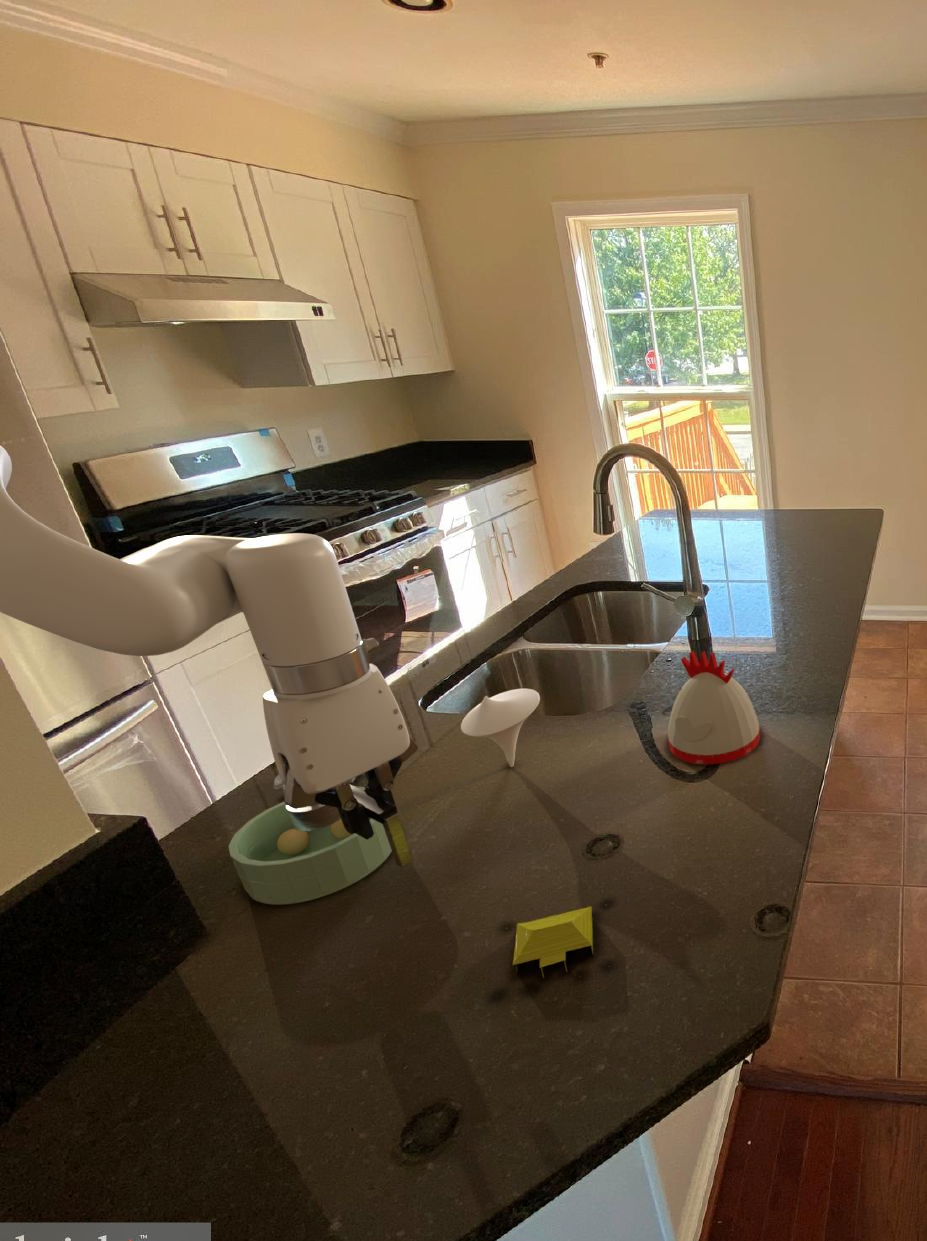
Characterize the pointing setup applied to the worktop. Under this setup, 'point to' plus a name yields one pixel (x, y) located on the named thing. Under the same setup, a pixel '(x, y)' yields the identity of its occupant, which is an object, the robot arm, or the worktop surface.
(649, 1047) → the worktop surface
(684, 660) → the kitchen timer
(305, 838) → the orange-brown rounded ball
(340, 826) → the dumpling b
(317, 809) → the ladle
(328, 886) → the bowl
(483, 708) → the white spinning top
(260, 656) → the robot arm
